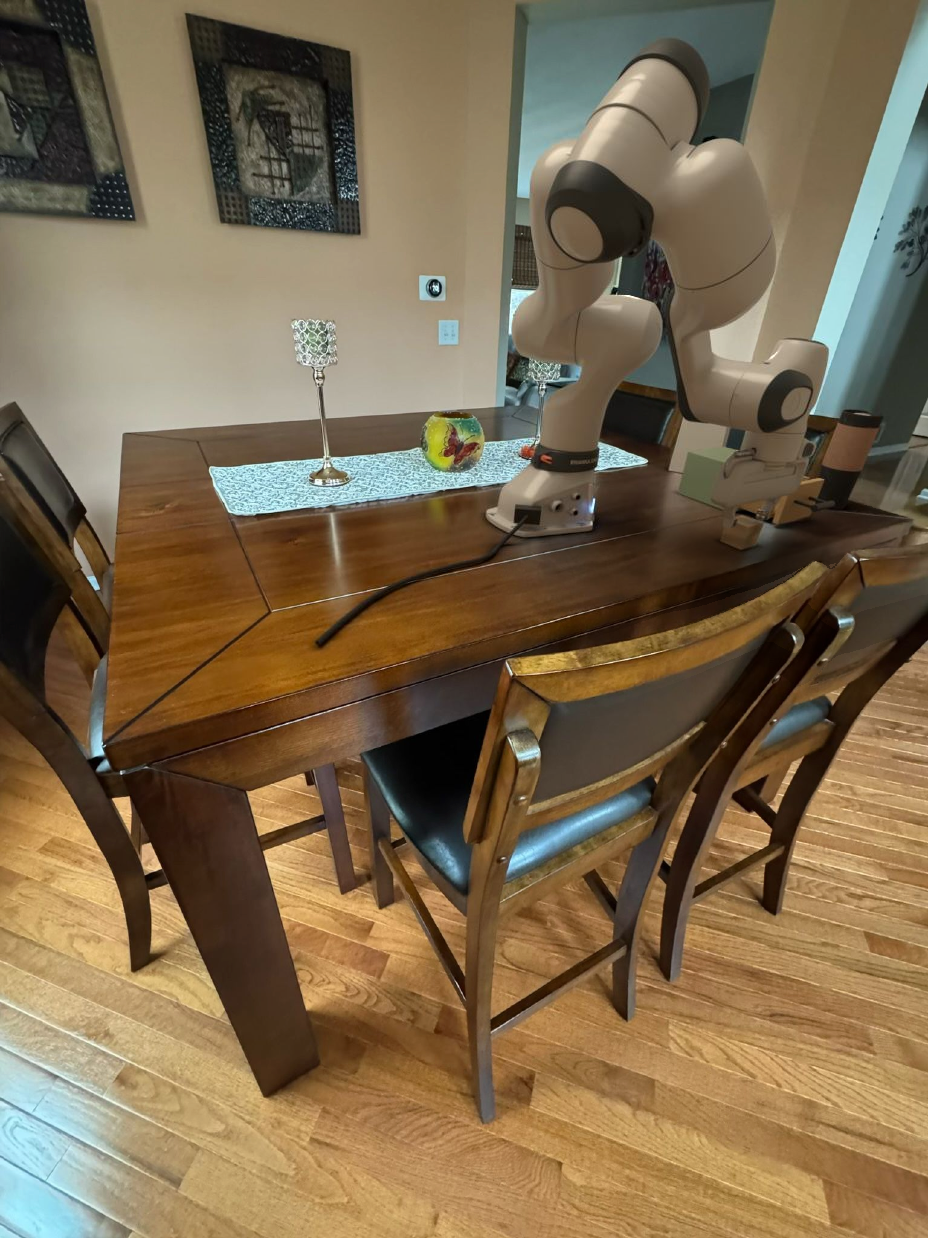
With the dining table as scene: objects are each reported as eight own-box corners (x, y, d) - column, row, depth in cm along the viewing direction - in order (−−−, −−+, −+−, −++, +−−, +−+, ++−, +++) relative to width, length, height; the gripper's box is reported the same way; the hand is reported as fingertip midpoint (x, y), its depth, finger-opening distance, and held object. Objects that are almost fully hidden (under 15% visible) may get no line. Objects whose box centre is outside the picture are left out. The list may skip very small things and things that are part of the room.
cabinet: (766, 504, 121) (781, 462, 116) (731, 512, 115) (744, 468, 110) (712, 486, 132) (724, 446, 127) (677, 492, 126) (687, 451, 121)
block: (740, 550, 98) (748, 526, 96) (719, 541, 101) (726, 518, 99) (755, 545, 100) (763, 523, 98) (734, 537, 103) (742, 515, 101)
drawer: (833, 523, 109) (849, 486, 105) (800, 532, 104) (816, 493, 100) (753, 496, 123) (764, 462, 119) (720, 503, 118) (731, 468, 113)
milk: (677, 460, 151) (701, 359, 138) (720, 467, 147) (750, 363, 133) (668, 470, 142) (693, 362, 129) (713, 478, 138) (745, 367, 124)
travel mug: (809, 506, 121) (846, 413, 110) (805, 496, 127) (839, 407, 117) (848, 512, 119) (889, 417, 108) (842, 501, 125) (879, 411, 114)
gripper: (747, 456, 84) (722, 538, 91) (822, 445, 93) (794, 520, 100) (714, 446, 89) (692, 525, 96) (788, 437, 98) (764, 510, 105)
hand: (745, 523), depth 98 cm, fingers open, 8 cm apart
